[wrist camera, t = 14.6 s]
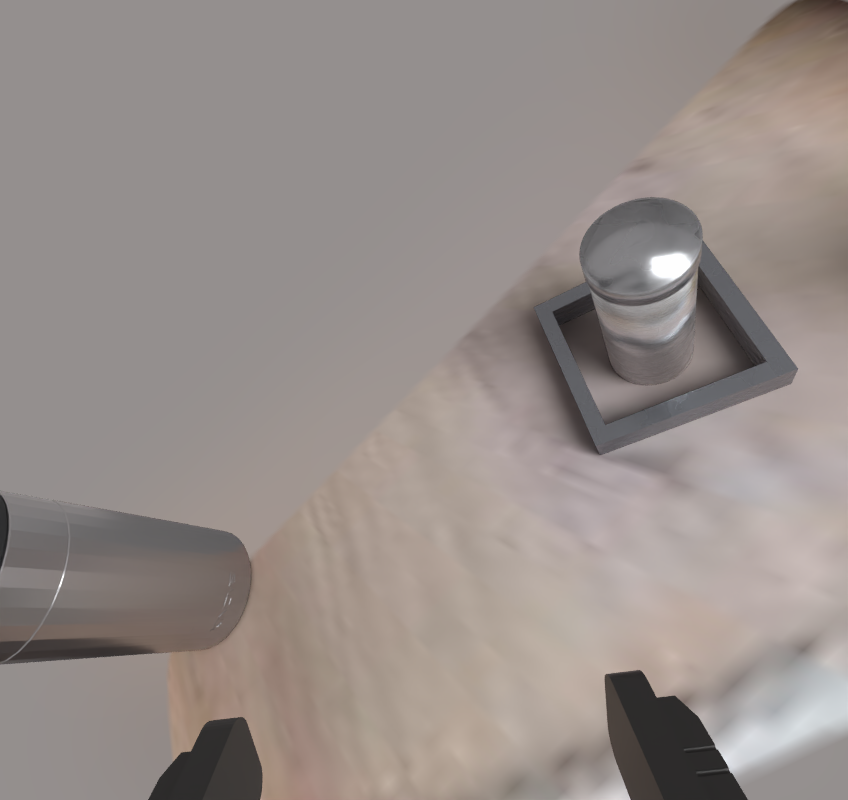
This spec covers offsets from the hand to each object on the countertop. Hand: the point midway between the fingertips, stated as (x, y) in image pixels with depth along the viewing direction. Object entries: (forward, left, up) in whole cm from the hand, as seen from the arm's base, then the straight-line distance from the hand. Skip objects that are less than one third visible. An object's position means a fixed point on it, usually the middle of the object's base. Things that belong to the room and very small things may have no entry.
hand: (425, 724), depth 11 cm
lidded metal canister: (+2, +19, -20) cm, 28 cm away
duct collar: (+2, +19, -20) cm, 28 cm away
